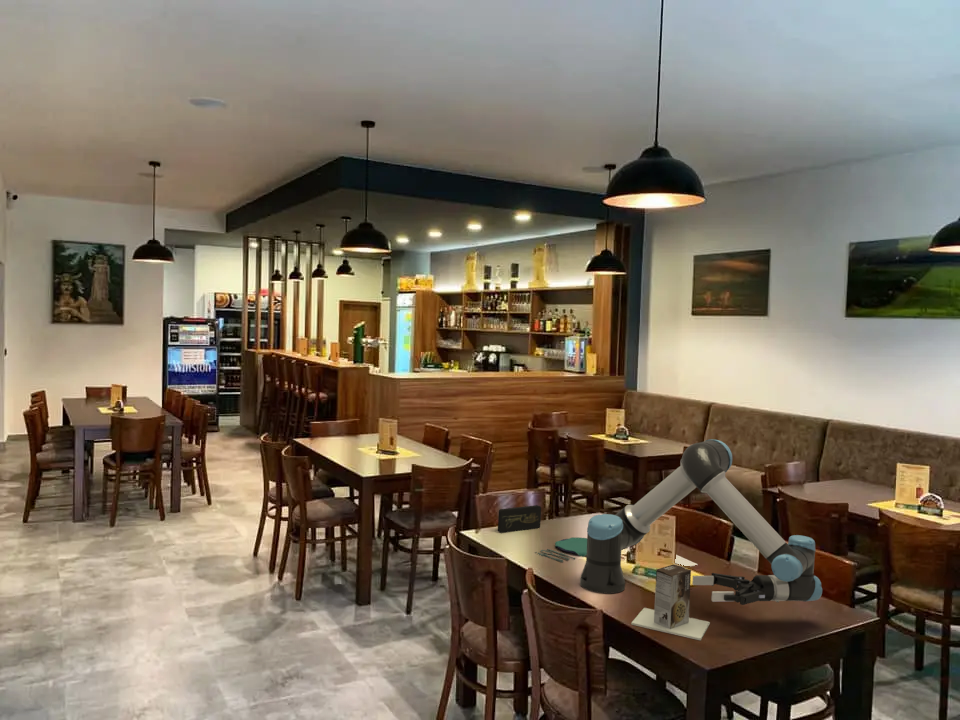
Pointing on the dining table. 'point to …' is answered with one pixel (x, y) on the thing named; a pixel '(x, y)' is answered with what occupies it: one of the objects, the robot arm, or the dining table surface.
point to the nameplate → (519, 519)
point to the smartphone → (684, 561)
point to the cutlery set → (568, 548)
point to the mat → (689, 630)
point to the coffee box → (672, 596)
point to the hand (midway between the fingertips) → (702, 588)
